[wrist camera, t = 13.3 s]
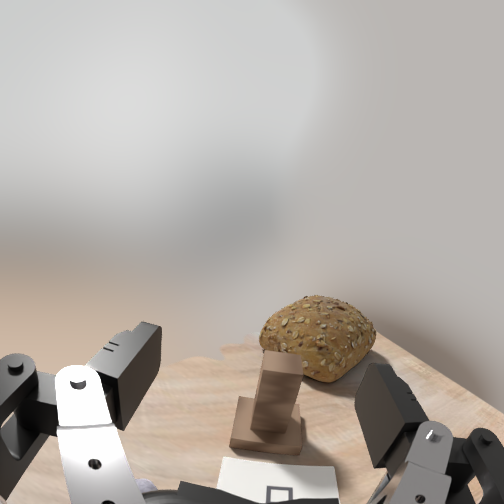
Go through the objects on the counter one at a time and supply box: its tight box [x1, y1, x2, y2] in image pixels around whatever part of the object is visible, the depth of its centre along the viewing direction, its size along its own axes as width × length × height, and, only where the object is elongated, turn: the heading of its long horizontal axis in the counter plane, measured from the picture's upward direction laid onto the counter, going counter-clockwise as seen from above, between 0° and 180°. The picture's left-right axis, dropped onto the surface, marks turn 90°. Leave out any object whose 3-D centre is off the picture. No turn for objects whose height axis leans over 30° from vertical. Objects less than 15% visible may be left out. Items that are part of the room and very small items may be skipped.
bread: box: [259, 295, 376, 383], centre depth 59 cm, size 24×21×12 cm
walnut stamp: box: [229, 350, 303, 455], centre depth 34 cm, size 9×9×12 cm
